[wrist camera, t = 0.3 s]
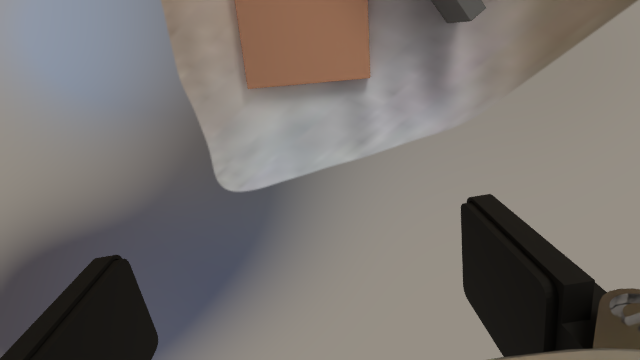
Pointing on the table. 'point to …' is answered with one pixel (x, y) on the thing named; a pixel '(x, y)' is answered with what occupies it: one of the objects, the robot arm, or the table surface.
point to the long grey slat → (459, 9)
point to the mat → (303, 41)
